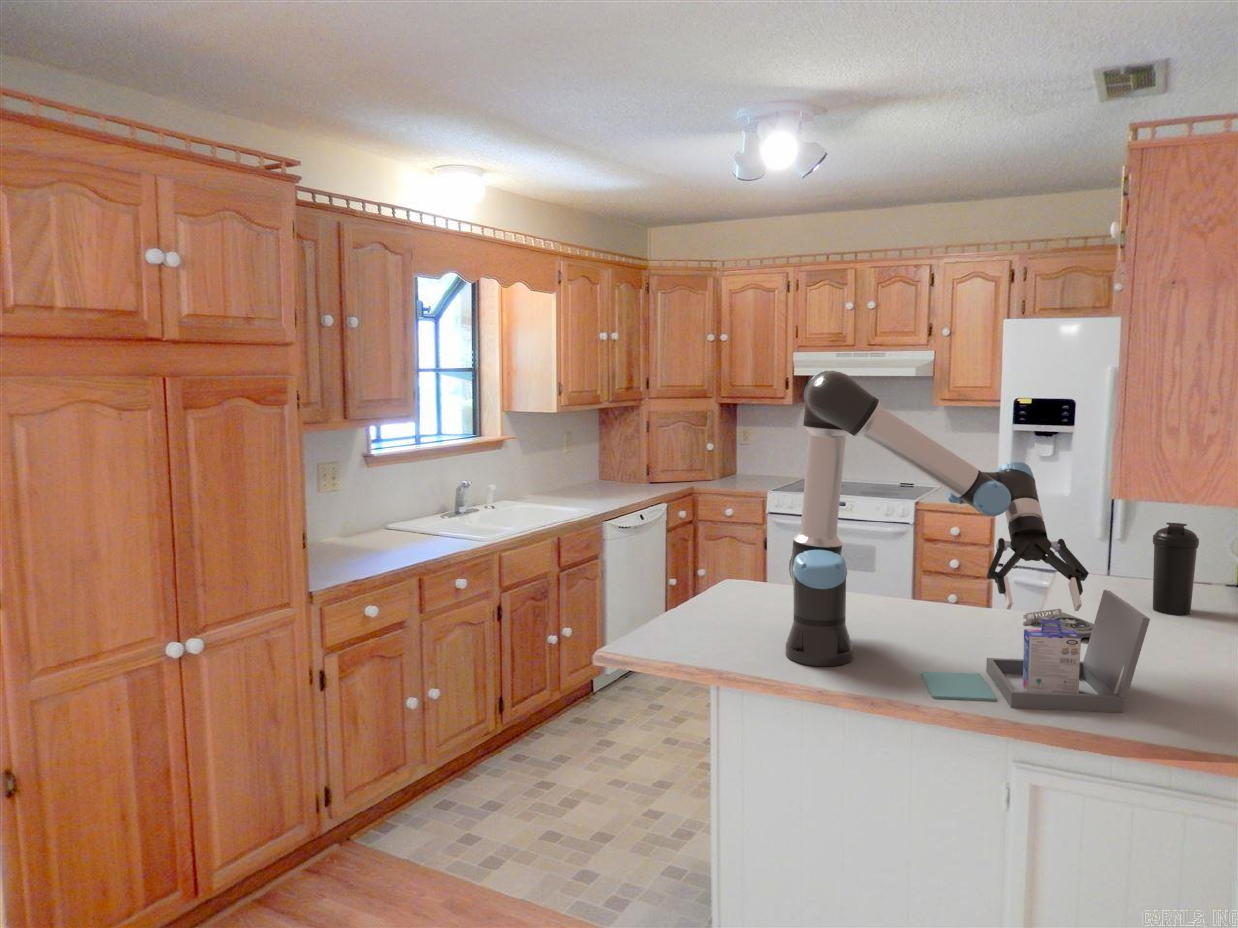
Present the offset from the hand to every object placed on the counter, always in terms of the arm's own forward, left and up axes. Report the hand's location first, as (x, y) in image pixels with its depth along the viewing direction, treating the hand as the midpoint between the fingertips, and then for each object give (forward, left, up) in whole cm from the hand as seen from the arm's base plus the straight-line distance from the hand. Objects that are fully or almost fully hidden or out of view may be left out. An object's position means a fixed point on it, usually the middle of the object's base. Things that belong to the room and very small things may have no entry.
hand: (1043, 607), depth 187 cm
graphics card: (+15, +32, -16) cm, 39 cm away
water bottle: (+47, +53, -15) cm, 73 cm away
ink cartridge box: (-1, -9, -15) cm, 18 cm away
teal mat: (-19, -9, -15) cm, 26 cm away
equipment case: (+1, -9, -15) cm, 17 cm away
